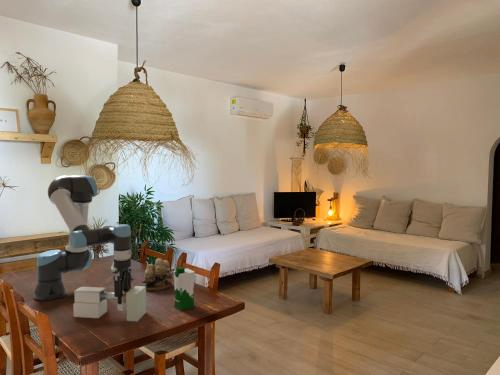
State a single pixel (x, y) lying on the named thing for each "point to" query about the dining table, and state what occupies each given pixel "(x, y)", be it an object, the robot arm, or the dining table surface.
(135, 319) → the socket block
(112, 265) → the white knobbed cylinder
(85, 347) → the dining table surface
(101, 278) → the dining table surface
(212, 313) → the dining table surface
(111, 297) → the tube
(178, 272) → the milk carton
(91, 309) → the sleeve
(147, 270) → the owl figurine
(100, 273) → the dining table surface
